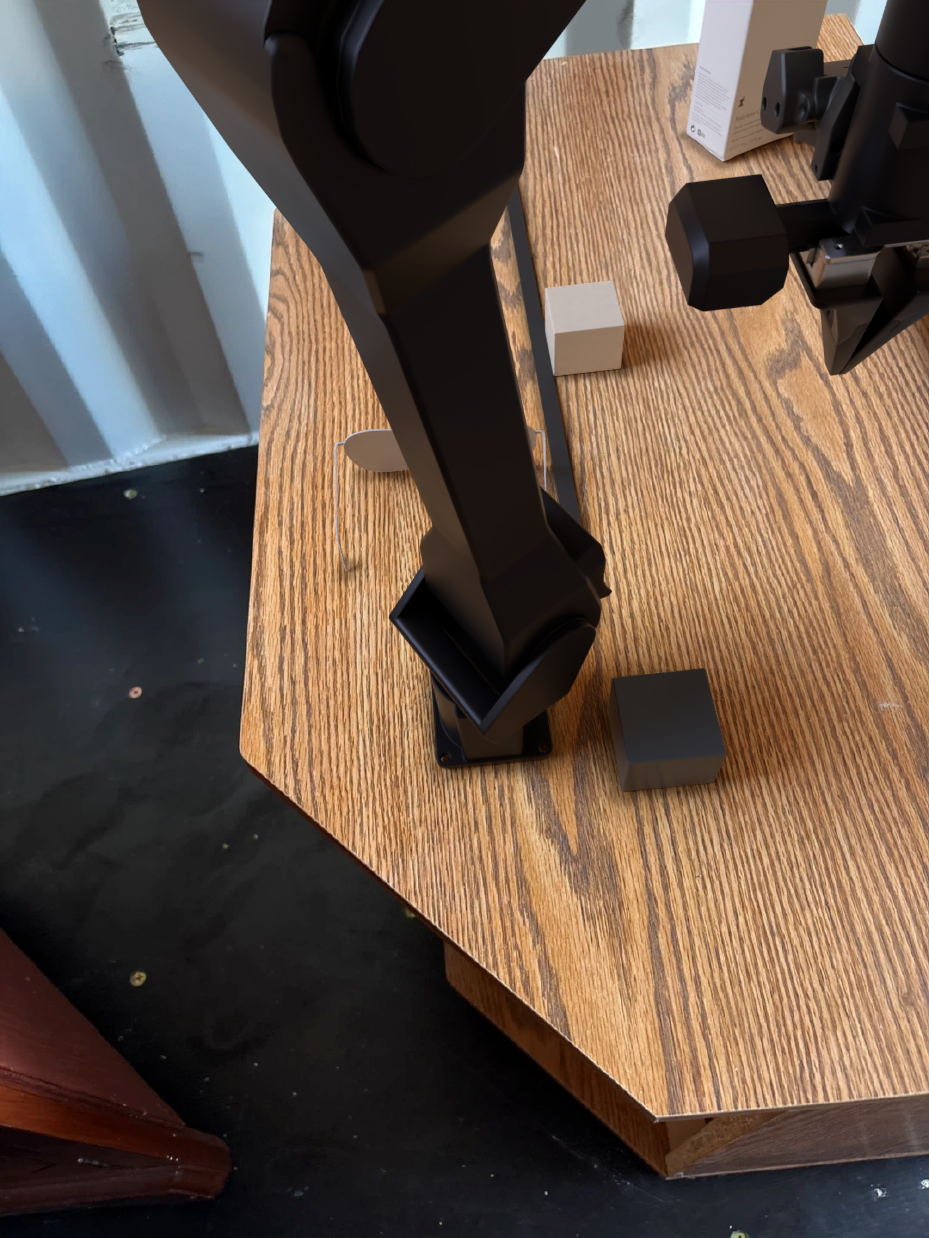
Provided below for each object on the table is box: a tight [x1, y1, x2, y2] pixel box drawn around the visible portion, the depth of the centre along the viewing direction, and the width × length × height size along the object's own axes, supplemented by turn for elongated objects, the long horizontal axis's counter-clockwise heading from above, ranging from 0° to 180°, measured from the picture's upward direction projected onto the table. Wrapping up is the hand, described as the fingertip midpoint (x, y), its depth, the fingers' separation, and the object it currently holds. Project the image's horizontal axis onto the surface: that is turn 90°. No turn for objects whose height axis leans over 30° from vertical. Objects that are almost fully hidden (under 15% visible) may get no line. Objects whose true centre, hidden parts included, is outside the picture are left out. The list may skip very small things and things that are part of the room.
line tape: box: [506, 184, 583, 526], centre depth 65 cm, size 50×1×1 cm, turn 4°
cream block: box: [544, 279, 626, 377], centre depth 63 cm, size 5×5×4 cm
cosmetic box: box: [685, 0, 829, 162], centre depth 71 cm, size 8×6×15 cm
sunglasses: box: [333, 424, 547, 572], centre depth 55 cm, size 14×8×5 cm, turn 90°
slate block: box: [606, 667, 728, 792], centre depth 46 cm, size 5×5×4 cm
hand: (834, 369), depth 45 cm, fingers closed
